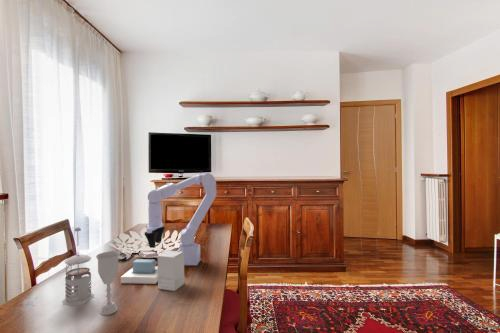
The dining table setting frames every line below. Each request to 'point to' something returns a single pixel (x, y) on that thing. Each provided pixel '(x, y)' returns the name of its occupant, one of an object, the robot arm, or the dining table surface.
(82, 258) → the french press
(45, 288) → the dining table surface
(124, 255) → the woman figurine
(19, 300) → the dining table surface
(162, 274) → the supplement box
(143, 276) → the white rectangular frame
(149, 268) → the block
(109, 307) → the chalice
